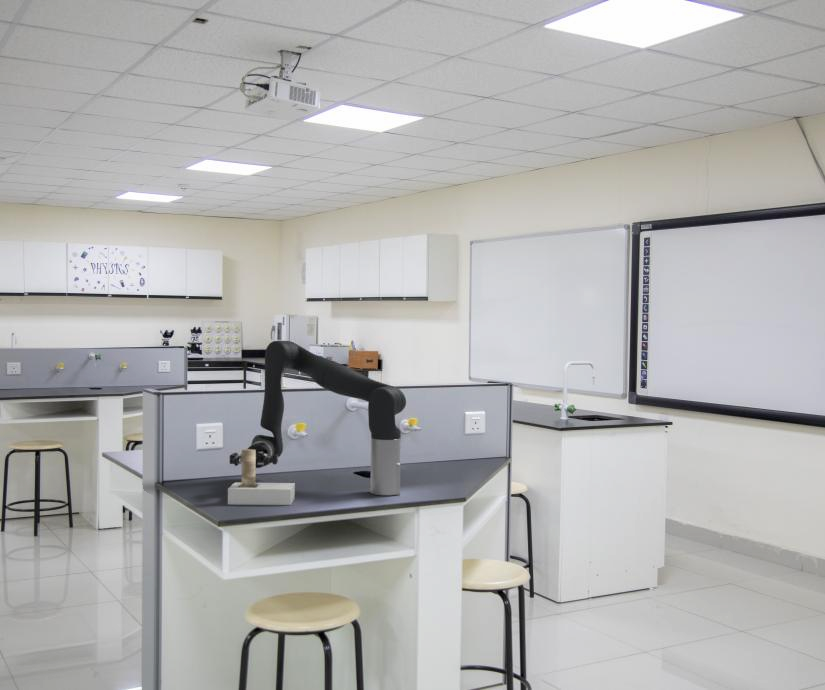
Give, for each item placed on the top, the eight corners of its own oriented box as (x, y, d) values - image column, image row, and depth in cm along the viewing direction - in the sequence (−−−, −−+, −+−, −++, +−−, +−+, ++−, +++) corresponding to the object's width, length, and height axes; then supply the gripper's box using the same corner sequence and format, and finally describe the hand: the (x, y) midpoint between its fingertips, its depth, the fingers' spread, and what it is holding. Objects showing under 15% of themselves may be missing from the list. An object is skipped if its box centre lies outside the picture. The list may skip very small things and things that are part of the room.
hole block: (294, 498, 253) (294, 483, 253) (290, 505, 243) (290, 489, 243) (234, 497, 253) (234, 482, 253) (227, 504, 243) (227, 488, 243)
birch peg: (256, 499, 250) (256, 449, 250) (253, 502, 246) (254, 451, 246) (242, 499, 250) (243, 449, 250) (240, 502, 246) (240, 451, 246)
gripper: (236, 441, 266) (226, 449, 250) (281, 442, 267) (274, 450, 250) (236, 465, 267) (226, 474, 250) (281, 466, 267) (274, 475, 251)
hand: (250, 462), depth 250 cm, fingers open, 8 cm apart
